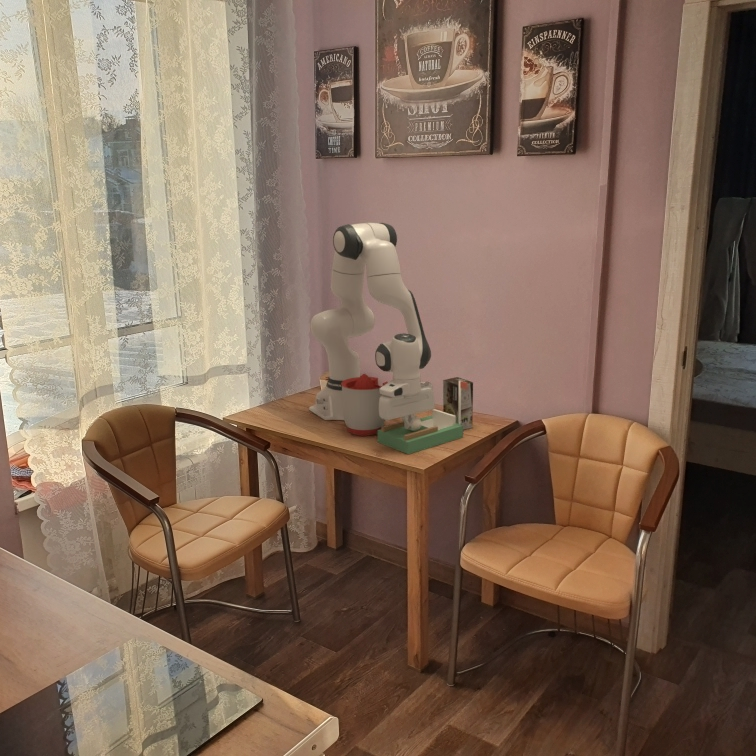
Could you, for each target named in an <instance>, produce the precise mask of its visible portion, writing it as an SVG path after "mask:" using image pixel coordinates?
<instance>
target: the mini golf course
mask: <svg viewBox="0 0 756 756" xmlns="http://www.w3.org/2000/svg"><path fill="white" fill-rule="evenodd" d="M461 388H463V389H466V390H467V383H466V382H463V381H459V401H458V424H457V423H456V416H455V415H452V414H448V413H445V412H443V410H439V409H435V408H434V409H433V410H432V414H431V415H428V416H425V417H419V418H420V420H421V423H422V424H421V427H420V429H419V430H417V431H410V430H409V429H406V428H405V427H404V422H403V420H401V421H397V422H394V423H391V424H388V425H386V424H385V425H384V426H383V427H382V429H381V430H377V431H378V434H377V443H378V442H379V444H382V445H384V446H386V447H388V448H391V449H394V450H397V451H399V452H401V453H404V454H407V455H411V454H414V453H417V452H421V451H424V450H427V449H430V448H434V447H436V446H440V445H443V444H446V443H448V442H449V443H450V442H452V441H455V440H459V439H462V438H463V437H464V430H463V425H461Z"/></svg>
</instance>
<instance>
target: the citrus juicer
mask: <svg viewBox="0 0 756 756" xmlns="http://www.w3.org/2000/svg"><path fill="white" fill-rule="evenodd" d="M387 383H389V382H388V381H384V382H383V383H382V386H384V385H386V384H387ZM341 385H342V404H343V415H344V420H343V421H344V422H345V426H346V429H347V431H348V432H349V433H350V434H352V435H357V436H360V437H366V436H372V435H378V431H377V430H381V429H382V427H383V426H386V420H384V419H382V418H381V417H380V416H379V399H380V397H381V396H382V394H380V388H381V387H382V386H381V385H379V378H378V377H373V376H369V375H367V374H366V373H363V374H361V375H360V377H356V378H350V379H347V380H344V381H343V382H342V383H341Z"/></svg>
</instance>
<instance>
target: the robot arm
mask: <svg viewBox="0 0 756 756" xmlns="http://www.w3.org/2000/svg"><path fill="white" fill-rule="evenodd" d="M397 242H398V235H397V232H396V229H395V227H394V226H393V225H391V224H389V223H385V222H378V223H377V222H363V223H354V224H348V223H347V224H344V225H340V226H338V227H337V228H336V230H335V231H334V233H333V237H332V244H333V249H334V255H333V259H332V266H331V280H330V290H331V293H332V294H333V295H334V297H336V298H338V299H339V302H340V306H339V307H337V308H333V309H328V310H327V309H326V310H324V311H321V312H319V313H317V314H315V315H313V316H312V318H311V321H310V332H311V335H312V336H313V338H314V339H315V340H316V341H318V342H319V343H320V344H321V345H322V346H323V347H324V350H325V352H326V355H327V361H328V375H329V376H325V377H324V379H325V381H326V384H325V385H326V386H325V387H323V388H322V389H321V390H320V391H319V392H318V393H316V396H315V404H313V405H311V406H309V409H308V410H309V411H310V412H311V413H313V414H315V415H316V416H318V417H319V418H321V419H322V420H325V421H331V420H332V421H333V420H334V421H335V420H336V421H345V420H344V415H343V404H342V385H341V383H342V382H343V381H344V380H347V379H350V378H356V377H360V376H361V364H360V363H361V360H360V359H361V358H360V355H359V353H358V352H357V351H356V350H354V349H352V348H351V346H350V344H349V339H352V338H355V337H361V336H363V335H366V334H367V333H370V332H371V331H372V330H373V329H374V326H375V322H376V319H375V314H374V313H373V311H372V309H371V308H370V307H369V306H368V305H367V304H366V301H365V298H364V280H365V279H364V278H365V273H366V282H367V288H368V292H369V294H370V297H372V298H373V299H374V300H375V301H376V302H378V303H380V304H383V305H386V306H390V307H393V308H395V309H397V310H398V311H399V312H400V313H401V314H402V315H403V319H404V323H405V327H406V330H407V333H404V332H403V333H397V334H395V335H393V336H392V339H390V340H388V341H386V342H382V343H380V344H379V345H378V346H377V348H376V349H375V350H376V351H375V354H374V356H375V357H374V358H375V365H376V366H377V367H378V368H379V369H380V370H381V371H383V372H387V373H388V372H389V373H391V372H392V379H391V380H390V381H389V382H388V383H387V384H386V385H384V386H383V385H382V387H381V388H380V394H382V396H381V397H380V399H379V416H380V417H381V418H382V419H384V420H385V421H390V420H394V419H398V418H399V419H400V418H401V421H403V422H404V427H405V428H406V429H409V428H412V422H413V419H414V417H415V416H416V414H420V413H423V412H424V413H425V412H428V411H433V409H435V407H436V399H435V393H434V385H433V384H432V383H431V382H430V381H424V382H422V379H421V377H422V376H421V372H420V370H422V369H425V368H426V366H427V365H428V364H429V362H430V360H431V357H432V351H431V347H430V345H429V342H428V339H427V338H426V335H425V330H424V327H423V324H422V319H421V316H420V312H419V309H418V304H417V301H416V299H415V297H414V294H413V292H412V291H411V290H410V289H408V288H407V287H406V285H405V283H404V281H403V277H402V271H401V265H400V259H399V256H398V252H397V250H396V247H397ZM365 270H366V272H365ZM407 419H408V420H407Z"/></svg>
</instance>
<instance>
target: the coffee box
mask: <svg viewBox="0 0 756 756" xmlns="http://www.w3.org/2000/svg"><path fill="white" fill-rule="evenodd" d="M442 381H443V382H442V383H443V384H442V395H443V396H442V397H443V399H442V400H443V403H442V406H443V407H442V409H443V410H442V412H445V413H448V414H452V415H455V416H456V423H457V424H458V401H459V381H463V382H466V383H467V390H466V389H463V388H461V425H463V431H464V430H468V429H473V422H474V421H473V413H474V412H473V409H474V407H473V405H474V382H473V381H470V380H468V379H464V378H462V377H452V378H447V379H443V380H442Z"/></svg>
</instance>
